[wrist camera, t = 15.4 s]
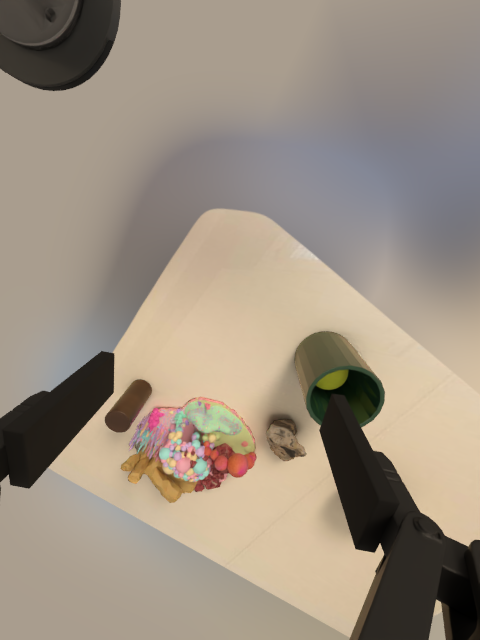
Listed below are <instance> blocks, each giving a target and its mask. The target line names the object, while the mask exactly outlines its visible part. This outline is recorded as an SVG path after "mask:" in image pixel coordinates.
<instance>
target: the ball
mask: <svg viewBox="0 0 480 640" xmlns="http://www.w3.org/2000/svg"><path fill="white" fill-rule="evenodd" d="M348 372H349V370H338V371H335V372H333V373H330V374H328V375H326V376H325V377H323V378H322V379H321V380H319V381H318V383H317V384H316V386H317V387H319V388H322V389H325V390H332V389H336V388H338V387H340V386H342V385H343V384H344V382H345V381H346V379H347V377H348Z"/></svg>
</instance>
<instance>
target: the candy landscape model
mask: <svg viewBox="0 0 480 640" xmlns="http://www.w3.org/2000/svg"><path fill="white" fill-rule="evenodd" d="M149 414H150V412H149ZM149 414H148V416H149V417H148V416H146V418H145V416H144V418H145V420H144V418H143V419H142V421H140V422H141V423H142V424H141V423H139V424H141V426H142V427H141V428H140V429H139V428H138V427H139V424H138V426H137V429H136V430H137V431H136V433H135V434H134V436H133V438H132V440H131V441H130V443H129V446H130V445H131V443H132V442H133V443H132V445H131V447H130V449H129V451H130V450H131V449H132V448H133V446H134V444H135V448H136V449H137V454H135V455H132V456H130V457H129V459H128V460H127V461H126V462H124V463H123V464H122V465H121V469H122V470H123V471H131V470H132V471H131V473H130V474H129V476H128V480H129V481H130V482H132V483H137V482H138V481H139V480H140V478H141V476H142V474H143V473H144V474H146V475H148V477H149V478H150V479H151V481H152V483H153V484H154V485H155V487H156V488H157V489H158V490H159V491H160V493H161V495H162V496H163V497H165V498H166V499H167V500H168V501H169V502H170V503H173V502H175V501H176V500H177V499H179V498H180V496H181V494H182V493H185V492H187V493H191V492H192V491H193V490H194V489H195V492H198V491H202V490H203V489H204V486H203V485H205V487H206V489H213V488H217V487H220V484H221V482H222V481H224V480H226V477H227V474H228V473H230V474H231V475H232V476H234V477H242V476H243V475H244V474H246V472H247V470H248V469H251V468H252V467H253V466H254V461H255V460H256V454H255V453H254V451H255V444H254V443H255V439H254V437H253V436H252V432H251V430H250V429H249V427H248V426H246V425H245V422H244V420H243V419H242V418H240V417H239V416H238V414H237V413H236V412H235V410H233V409H230V408H229V407H228V406H226V405H224V403H222V402H219V401H215V400H211V399H206V398H202V397H199V398H194V399H192V400H190V401H188V402H187V404H186V405H184V407H183V408H181V409H180V408H178V409H175V408H160V409H158V408H154V409H153V411H152V413H151V414H150V415H149ZM147 417H148V419H147ZM143 420H144V421H143ZM133 440H134V441H133ZM135 442H136V443H135Z"/></svg>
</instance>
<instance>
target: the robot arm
mask: <svg viewBox="0 0 480 640" xmlns="http://www.w3.org/2000/svg"><path fill="white" fill-rule="evenodd" d="M83 3H84V0H0V33H1V34H2V35H4V36H5V37H6V38H8V39H9V40H10V41H12V42H13V43H15V44H17V45H19V46H21V47H23V48H26V49H29V50H35V51H43V50H49V49H52V48H55V47H57V46H59V45H60V44H62V43H63V42H64V41H65V40H66V39H67V38H68V37H69V36H70V35H71V34H72V32H73V31H74V29H75V28H76V26H77V23H78V21H79V19H80V16H81V12H82V9H83ZM113 393H114V353H109V352H103V351H101V352H100V353H99V354H98V355H96V356H95V357H94V358H92V359H91V360H90V361H89V362H87V363H86V364H85V365H84V366H83V367H81V368H80V369H78V370H77V371H76V372H75V373H73V374H72V375H71V376H70V377H69V378H67V379H66V380H65V381H63V382H62V383H61V384H60V385H58V386H57V387H56V388H54V389H53V390H52V391H51V392H47V391H41V392H39V393H37V394H34V395H32V396H30V397H29V398H27V399H26V400H25V401H24V402H22V403H21V404H20V405H18V406H17V407H15V408H14V409H13V410H12V411H10V412H8V413H7V414H6V415H4V416H3V417H2V418H0V482H1V481H2V480H3V479H4V478H5V477H6V476H7V475H8V474H9V479H10V485H13V486H18V487H24V488H30V487H31V486H32V485H33V484H34V483H35V481H36V480H37V479H38V478H39V477H40V476H41V475H42V474H43V472H44V471H45V470H46V469H47V468H48V467H49V466H50V464H51V463H52V462H53V461H54V460H55V459H56V458H57V456H58V455H59V454H60V453H61V452H62V451H63V450H64V449H65V447H66V446H67V445H68V444H69V443H70V442H71V441H72V439H73V438H74V437H75V436H76V435H77V434H78V433H79V431H80V430H81V429H82V428H83V427H84V426H85V425H86V423H87V422H88V421H89V420H90V419H91V418H92V417H93V415H94V414H95V413H96V412H97V411H98V410H99V409H100V408H101V406H102V405H103V404H104V403H105V402H106V401H107V400H108V398H109V397H110V396H111V395H112V394H113ZM319 431H320V434H321V437H322V441H323V444H324V447H325V450H326V454H327V457H328V460H329V463H330V467H331V470H332V473H333V477H334V480H335V483H336V486H337V490H338V493H339V496H340V500H341V503H342V506H343V509H344V513H345V516H346V519H347V522H348V526H349V529H350V532H351V536H352V539H353V542H354V545H355V549H358V550H363V551H368V552H374V553H375V551H376V549H377V547H378V545H379V543H381V546H382V549H383V551H384V556H383V558H382V560H381V562H380V564H379V566H378V567H377V569H376V571H375V572H376V575H375V577H374V580H373V582H372V585H371V587H370V590H369V592H368V595H367V597H366V600H365V602H364V605H363V607H362V610H361V612H360V615H359V617H358V620H357V622H356V625H355V627H354V630H353V632H352V635H351V637H350V640H428V639H429V633H430V628H431V623H432V618H433V613H434V607H435V602H436V599H437V600H438V601H440V602H441V604H442V612H443V620H444V628H445V636H446V640H480V540H474V541H473V542H471V544H470V545H469V547H468V546H466V545H463V544H461V543H459V542H457V541H455V540H453V539H451V538H448V537H447V536H445V535H444V534H443V532H442V530H441V529H440V528H439V526H438V525H437V524H436V523H435V522H434V521H433V520H431V519H430V518H429V517H428V516H426V515H424V514H422V513H420V511H419V509H418V508H417V506H416V504H415V502H414V501H413V499H412V497H411V495H410V494H409V492H408V490H407V488H406V487H405V485H404V483H403V482H402V480H401V478H400V476H399V474H397V471H396V469H395V467H394V466H393V464H392V462H391V461H390V460H389V459H388V458H387V457H386V456H385V455H384V454H383V453H382V452H376V451H373V450H372V448H371V446H370V444H369V442H368V440H367V438H366V436H365V434H364V433H363V431H362V429H361V427H360V425H359V423H358V421H357V419H356V417H355V415H354V413H353V411H352V409H351V407H350V406H349V404H348V402H347V400H346V398H345V396H343V395H338V394H331V397H330V400H329V403H328V406H327V409H326V412H325V415H324V418H323V421H322V424H321V427H320V430H319ZM0 491H1V487H0ZM0 494H1V492H0Z"/></svg>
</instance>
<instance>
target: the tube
mask: <svg viewBox="0 0 480 640" xmlns="http://www.w3.org/2000/svg"><path fill="white" fill-rule="evenodd" d="M295 366H296V371H297V374H298V378H299V382H300V385H301V389H302V393H303V396H304V400H305V404H306V407H307V410H308V412H309V414H310V416H311V417H312V418H313V419H314V420H315V421H316V422H317V423H318V424H319V425H321V424H322V421H323V418H324V415H325V412H326V409H327V406H328V403H329V400H330V397H331V394H338V395H343V396H345V398H346V400H347V402H348V404H349V406H350V407H351V409H352V411H353V413H354V415H355V417H356V419H357V421H358V423H359V425H360V427H363V426H365V425H366V424H368V423H369V422H371V421H372V420H374V418H375V417H376V416H377V415H378V414H379V413H380V411H381V409H382V406H383V404H384V395H385V391H384V388H383V386H382V383H381V381H380V380H379V378H378V377H377V376H376V375H375V374H374V372H373V371H372V370H371V369H370V367H369V366H368V365H367V364H366V362H365V361H364V360H363V359H362V357H361V356H360V355H359V354H358V352H357V351H356V350H355V349H354V347H353V346H352V345H351V344H350V343H349V342H348V340H347V339H346V338H344V337H343V336H341V335H339V334H337V333H334V332H318V333H315V334H312V335H310V336H308V337H307V338H306V339H304V340H303V341H302V342H301V343H300V345H299V346H298V348H297V350H296V353H295ZM338 370H349V372H348V377H347V379H346V381H345V382H344V384H343V385H342V386H340V387H338V388H336V389H332V390H325V389H322V388H319V387H317V386H316V384H317V383H318V381H319V380H321V379H322V378H323V377H325V376H326V375H328V374H330V373H333V372H335V371H338Z"/></svg>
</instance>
